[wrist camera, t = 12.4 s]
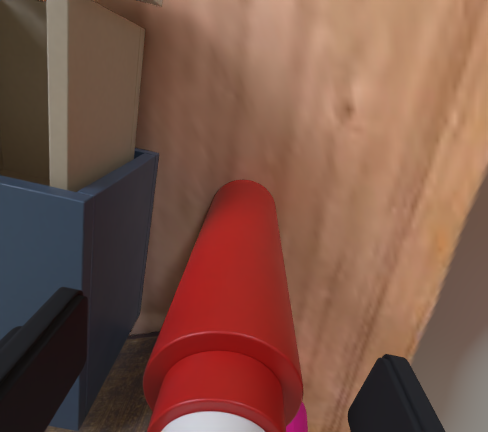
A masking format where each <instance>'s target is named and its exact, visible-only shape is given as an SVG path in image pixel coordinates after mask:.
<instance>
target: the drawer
mask: <svg viewBox="0 0 488 432" xmlns="http://www.w3.org/2000/svg"><path fill="white" fill-rule="evenodd" d="M136 1H140V2H144V3H148V4H152V5H156V6H160V7H162V0H136ZM144 39H145V29H144V28H142V27H140V26H139V25H137V24H135V23H133V22H131V21H129V20H127V19H125V18H124V17H122V16H120V15H118V14H116V13H114V12H112V11H111V10H109V9H107V8H105V7H103V6H101V5H99V4H98V3H96V2H94V1H92V0H46V2H42V1H38V0H0V175H2V176H7V177H11V178H15V179H20V180H24V181H29V182H33V183H38V184H42V185H47V186H51V187H55V188H60V189H64V190H69V191H73V192H77V191H79V190H81V189H82V188H84V187H86V186H88V185H89V184H91V183H93V182H95V181H96V180H98V179H100V178H102V177H103V176H105V175H107V174H109V173H110V172H112V171H114V170H116V169H118V168H119V167H121V166H123V165H125V164H126V163H128V162H130V161H132V160H133V159H134V152H135V140H136V129H137V118H138V107H139V95H140V84H141V73H142V62H143V50H144Z"/></svg>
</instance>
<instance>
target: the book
mask: <svg viewBox="0 0 488 432" xmlns="http://www.w3.org/2000/svg"><path fill="white" fill-rule="evenodd" d="M159 333H160V332H152V333H150V334H142V335H135V336H128V338H127V339H126V341H125V343H124V345H123V347H122V349H121V351H120V353H119V355H118V357H117V359H116V360H115V362H114V364H113V366H112V368H111V370H110V372H109V374H108V376H107V378H106V380H105V382H104V383H103V385H102V387H101V389H100V391H99V393H98V395H97V397H96V399H95V401H94V403H93V405H92V406H91V408H90V410H89V412H88V414H87V416H86V417H85V420H84V422H83V424H82V426H81V427H80V429H79V431H74V430H69V429H63V428H58V427H53V426H48V427H47V429H46V430H45V432H147V429H148V425H149V422H150V419H151V416H152V413H153V412H152V410H151V409H150V407H149V405H148V403H147V401H146V399H145V395H144V391H143V375H144V371H145V368H146V366H147V363H148V361H149V358H150V356H151V353H152V351H153V348H154V346H155V343H156V341H157V338H158V336H159Z"/></svg>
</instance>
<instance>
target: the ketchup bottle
mask: <svg viewBox="0 0 488 432" xmlns="http://www.w3.org/2000/svg"><path fill="white" fill-rule="evenodd" d="M143 391H144V395H145V399H146V401H147V403H148V405H149V407H150V409H151V410H152V412H153V413H152V416H151V419H150V422H149V425H148V429H147V432H286V426H287V425H288V424H290V423H291V421H292V420H293V419H294V418H295V416H296V415H297V413H298V411H299V409H300V406H301V403H302V399H303V382H302V376H301V369H300V363H299V357H298V350H297V344H296V337H295V331H294V324H293V318H292V311H291V305H290V298H289V292H288V285H287V279H286V272H285V266H284V260H283V253H282V247H281V240H280V234H279V227H278V221H277V214H276V208H275V203H274V200H273V197H272V196H271V194H270V193H269V191H268V190H267V189H266V188H265V187H263V186H262V185H260V184H259V183H256V182H254V181H250V180H236V181H232V182H229V183H227V184H225V185H224V186H223V187H221V188H220V189H219V190H218V192H217V193H216V194H215V196H214V198H213V201H212V203H211V206H210V208H209V211H208V213H207V216H206V218H205V221H204V223H203V226H202V228H201V231H200V233H199V236H198V238H197V241H196V243H195V246H194V248H193V251H192V253H191V256H190V258H189V261H188V263H187V266H186V268H185V271H184V273H183V276H182V278H181V281H180V283H179V286H178V288H177V291H176V293H175V296H174V298H173V301H172V303H171V306H170V308H169V311H168V313H167V316H166V318H165V321H164V323H163V326H162V328H161V331H160V333H159V336H158V338H157V341H156V343H155V346H154V348H153V351H152V353H151V356H150V358H149V361H148V363H147V366H146V368H145V371H144V375H143Z"/></svg>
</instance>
